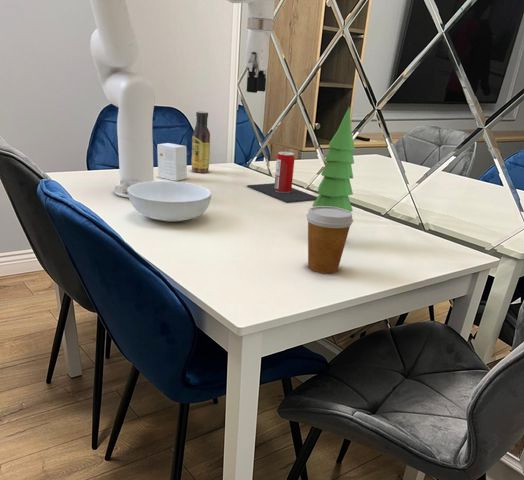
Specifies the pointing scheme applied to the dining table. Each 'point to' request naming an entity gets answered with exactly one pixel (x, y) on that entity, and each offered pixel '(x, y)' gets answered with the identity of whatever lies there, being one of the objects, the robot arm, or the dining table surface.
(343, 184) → the decorative tree
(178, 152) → the small box
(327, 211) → the disposable coffee cup
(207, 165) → the sauce bottle
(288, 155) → the soda can
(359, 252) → the dining table surface
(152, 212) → the serving bowl
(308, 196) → the placemat
